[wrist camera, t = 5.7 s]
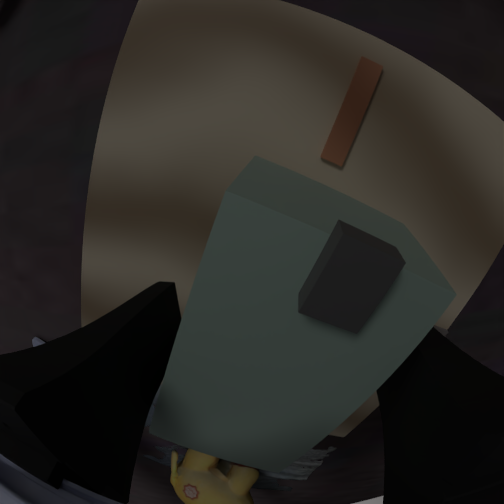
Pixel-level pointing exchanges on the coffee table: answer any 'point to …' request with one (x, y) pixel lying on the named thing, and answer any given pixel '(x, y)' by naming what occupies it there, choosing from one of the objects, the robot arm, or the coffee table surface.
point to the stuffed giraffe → (226, 474)
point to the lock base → (279, 144)
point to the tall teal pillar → (292, 319)
